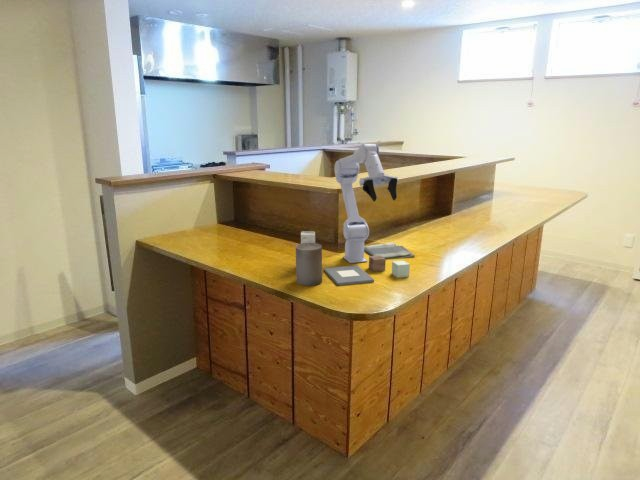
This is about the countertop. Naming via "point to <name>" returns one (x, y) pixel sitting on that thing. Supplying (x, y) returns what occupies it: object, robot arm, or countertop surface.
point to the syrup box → (307, 237)
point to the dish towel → (388, 251)
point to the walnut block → (377, 263)
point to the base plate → (348, 275)
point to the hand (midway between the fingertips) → (385, 199)
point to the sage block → (400, 268)
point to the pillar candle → (309, 264)
